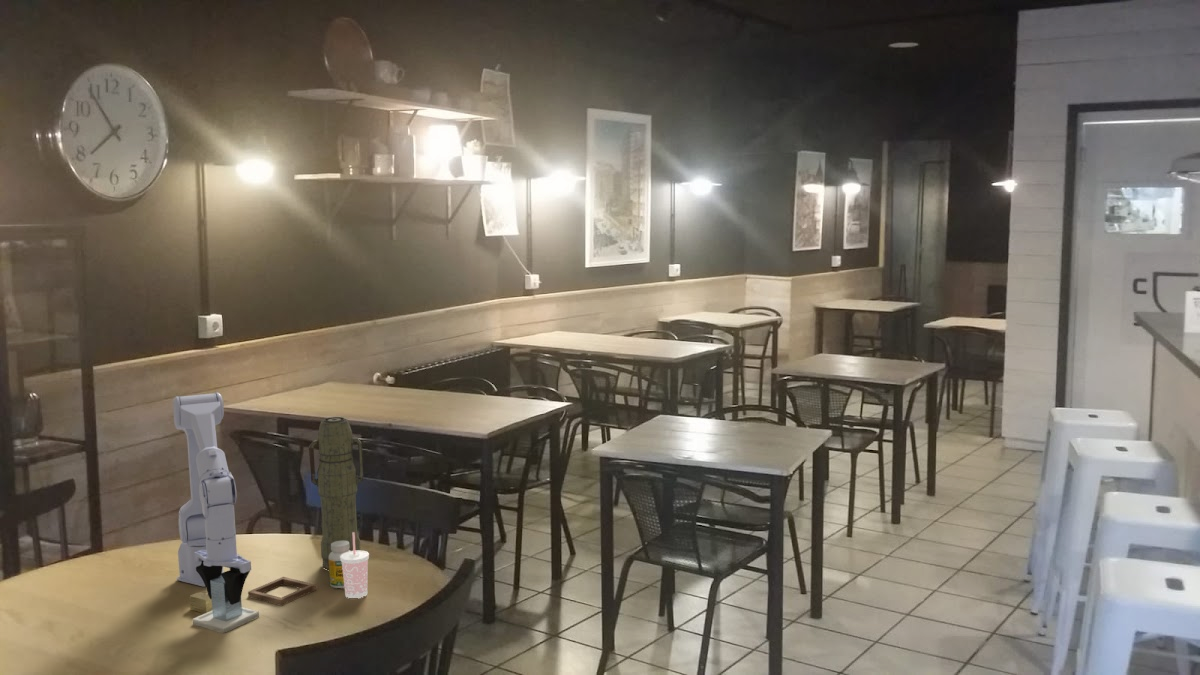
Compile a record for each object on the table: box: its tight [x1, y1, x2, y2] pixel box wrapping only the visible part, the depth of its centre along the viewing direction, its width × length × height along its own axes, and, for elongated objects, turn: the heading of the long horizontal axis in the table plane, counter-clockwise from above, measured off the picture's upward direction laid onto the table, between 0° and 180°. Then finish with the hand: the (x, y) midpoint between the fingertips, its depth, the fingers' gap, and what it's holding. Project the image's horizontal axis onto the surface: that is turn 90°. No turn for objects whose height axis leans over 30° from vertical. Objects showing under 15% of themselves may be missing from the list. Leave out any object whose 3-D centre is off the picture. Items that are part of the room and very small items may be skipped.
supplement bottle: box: [328, 541, 350, 589], centre depth 228 cm, size 5×5×10 cm
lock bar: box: [189, 591, 212, 614], centre depth 215 cm, size 5×2×3 cm, turn 60°
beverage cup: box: [340, 532, 370, 599], centre depth 221 cm, size 6×6×14 cm
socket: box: [247, 576, 317, 606], centre depth 224 cm, size 10×10×1 cm
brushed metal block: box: [210, 576, 243, 622], centre depth 209 cm, size 4×4×8 cm
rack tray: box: [192, 606, 260, 634], centre depth 209 cm, size 9×9×1 cm
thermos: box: [308, 416, 364, 571], centre depth 238 cm, size 9×12×35 cm
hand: (224, 600), depth 209 cm, fingers open, 5 cm apart
